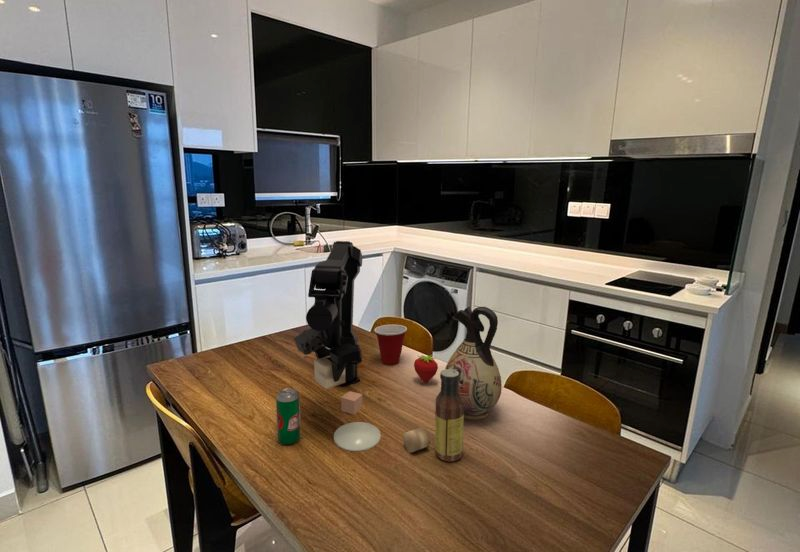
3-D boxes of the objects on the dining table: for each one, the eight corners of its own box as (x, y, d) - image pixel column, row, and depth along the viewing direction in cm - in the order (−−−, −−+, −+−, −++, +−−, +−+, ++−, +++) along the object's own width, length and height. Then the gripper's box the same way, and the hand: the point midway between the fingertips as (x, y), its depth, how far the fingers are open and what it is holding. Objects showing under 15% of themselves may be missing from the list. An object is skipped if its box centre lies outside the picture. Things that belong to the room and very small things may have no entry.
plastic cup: (388, 352, 150) (388, 320, 147) (412, 361, 144) (413, 327, 141) (367, 362, 142) (367, 328, 139) (392, 371, 135) (392, 336, 133)
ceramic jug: (428, 411, 113) (433, 303, 106) (462, 391, 124) (468, 292, 117) (484, 438, 102) (493, 319, 95) (515, 413, 113) (525, 305, 106)
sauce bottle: (464, 449, 97) (470, 369, 93) (459, 466, 92) (464, 381, 87) (436, 443, 99) (440, 364, 95) (429, 459, 94) (433, 376, 89)
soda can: (292, 448, 96) (290, 400, 93) (273, 443, 98) (271, 395, 95) (304, 436, 101) (303, 389, 98) (286, 431, 102) (284, 385, 100)
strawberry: (418, 375, 133) (419, 345, 131) (440, 381, 130) (442, 351, 127) (409, 383, 128) (410, 352, 126) (432, 389, 125) (433, 357, 122)
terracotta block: (349, 404, 116) (349, 390, 115) (362, 408, 114) (362, 394, 113) (341, 411, 112) (341, 397, 111) (354, 415, 110) (354, 401, 110)
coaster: (362, 418, 109) (362, 417, 108) (389, 439, 100) (389, 437, 100) (325, 434, 102) (325, 432, 101) (351, 457, 93) (351, 455, 93)
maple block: (333, 374, 109) (333, 354, 108) (345, 382, 105) (345, 361, 104) (314, 380, 106) (314, 359, 105) (325, 388, 102) (325, 367, 101)
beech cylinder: (411, 456, 95) (428, 450, 97) (415, 442, 93) (431, 436, 96) (401, 442, 98) (418, 436, 101) (404, 428, 97) (421, 422, 99)
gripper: (280, 312, 104) (282, 372, 107) (318, 334, 90) (319, 402, 93) (321, 305, 111) (322, 361, 114) (362, 324, 97) (361, 387, 100)
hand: (329, 376), depth 105 cm, fingers closed on maple block, 5 cm apart
